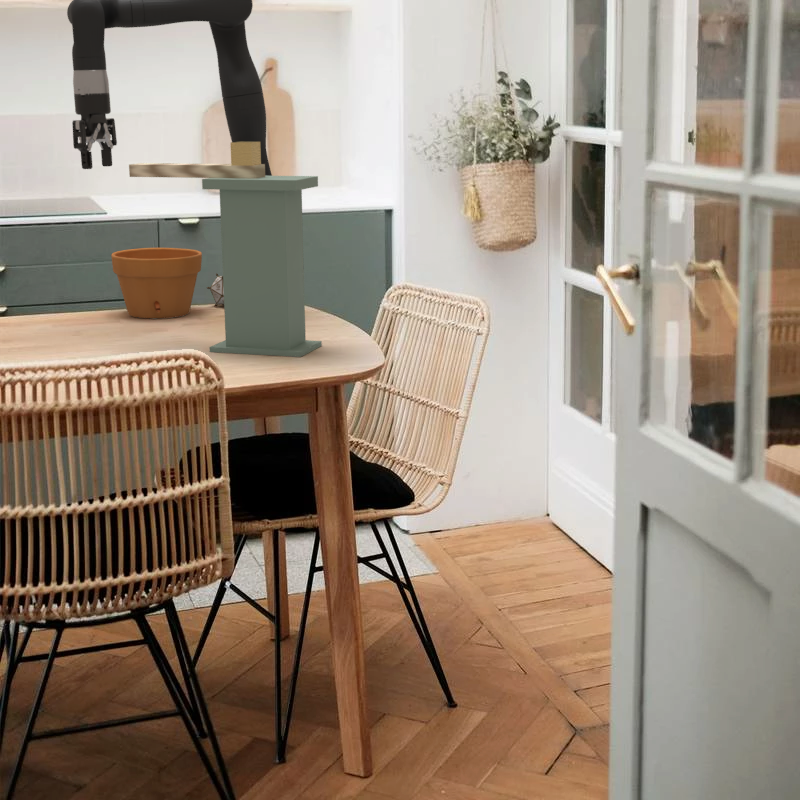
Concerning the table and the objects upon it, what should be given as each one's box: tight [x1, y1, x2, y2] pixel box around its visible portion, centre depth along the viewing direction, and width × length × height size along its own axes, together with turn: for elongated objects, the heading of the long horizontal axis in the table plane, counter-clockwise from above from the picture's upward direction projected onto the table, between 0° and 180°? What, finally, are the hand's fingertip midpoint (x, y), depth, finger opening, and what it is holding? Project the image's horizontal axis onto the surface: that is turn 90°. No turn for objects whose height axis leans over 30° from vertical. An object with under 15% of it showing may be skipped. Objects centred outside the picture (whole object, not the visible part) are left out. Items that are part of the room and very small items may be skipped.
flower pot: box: [110, 247, 203, 319], centre depth 310 cm, size 21×21×15 cm
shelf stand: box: [201, 175, 323, 358], centre depth 264 cm, size 20×12×35 cm, turn 73°
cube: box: [230, 141, 261, 166], centre depth 260 cm, size 4×4×4 cm
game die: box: [206, 272, 224, 307], centre depth 321 cm, size 9×8×10 cm
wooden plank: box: [128, 162, 265, 179], centre depth 264 cm, size 28×5×2 cm, turn 73°
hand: (97, 167), depth 285 cm, fingers open, 8 cm apart
